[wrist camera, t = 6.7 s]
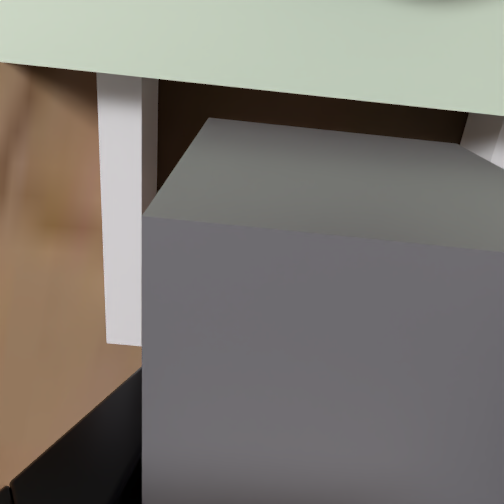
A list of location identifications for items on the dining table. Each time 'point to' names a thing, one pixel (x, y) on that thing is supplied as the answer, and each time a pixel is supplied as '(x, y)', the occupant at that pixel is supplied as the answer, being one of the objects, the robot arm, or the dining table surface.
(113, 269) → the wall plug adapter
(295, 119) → the dining table surface
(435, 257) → the tall grey prism
